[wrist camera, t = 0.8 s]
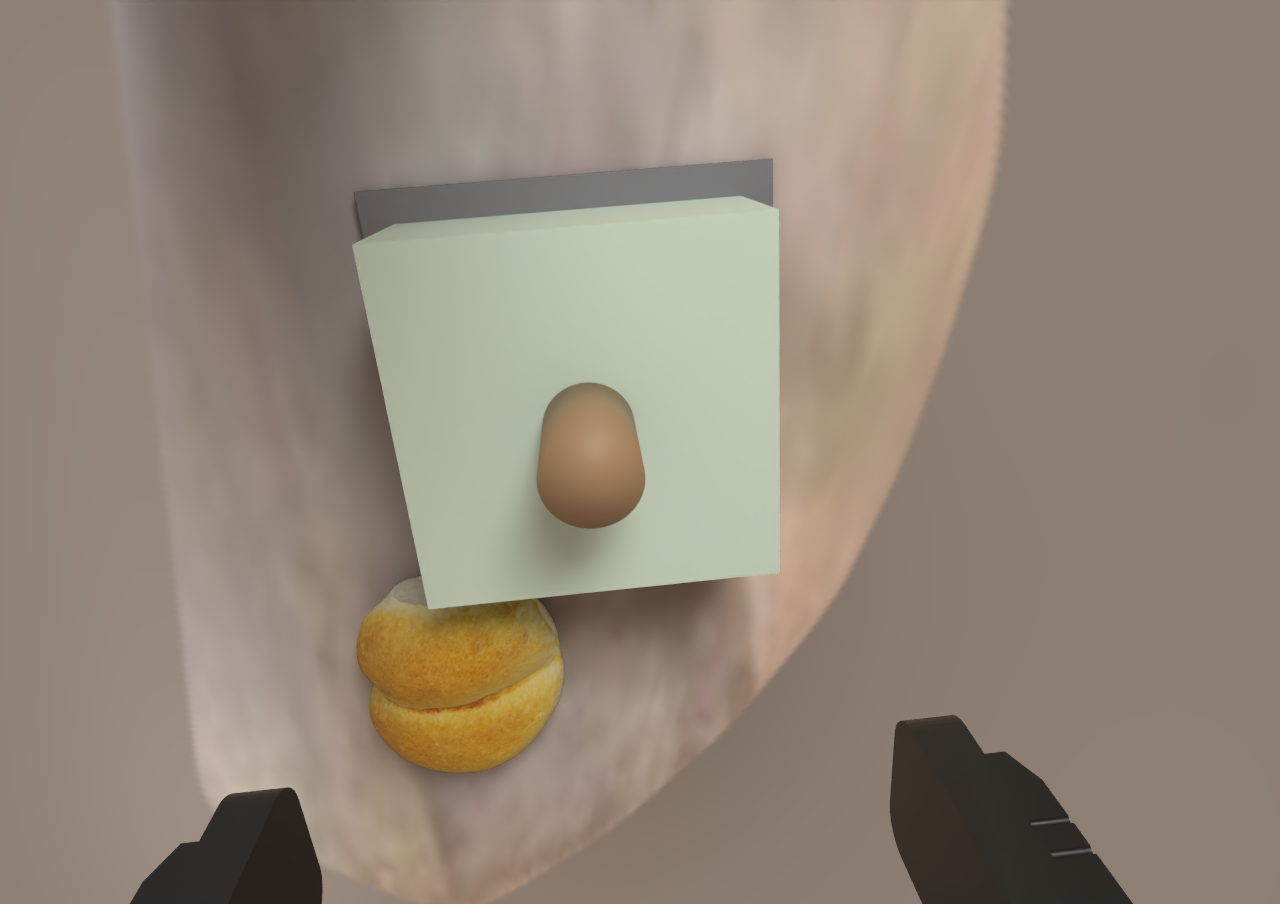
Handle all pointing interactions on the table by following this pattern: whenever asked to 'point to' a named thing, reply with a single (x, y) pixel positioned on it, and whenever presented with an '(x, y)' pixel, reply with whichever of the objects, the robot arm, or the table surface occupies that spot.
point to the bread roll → (459, 677)
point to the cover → (582, 395)
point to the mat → (564, 193)
